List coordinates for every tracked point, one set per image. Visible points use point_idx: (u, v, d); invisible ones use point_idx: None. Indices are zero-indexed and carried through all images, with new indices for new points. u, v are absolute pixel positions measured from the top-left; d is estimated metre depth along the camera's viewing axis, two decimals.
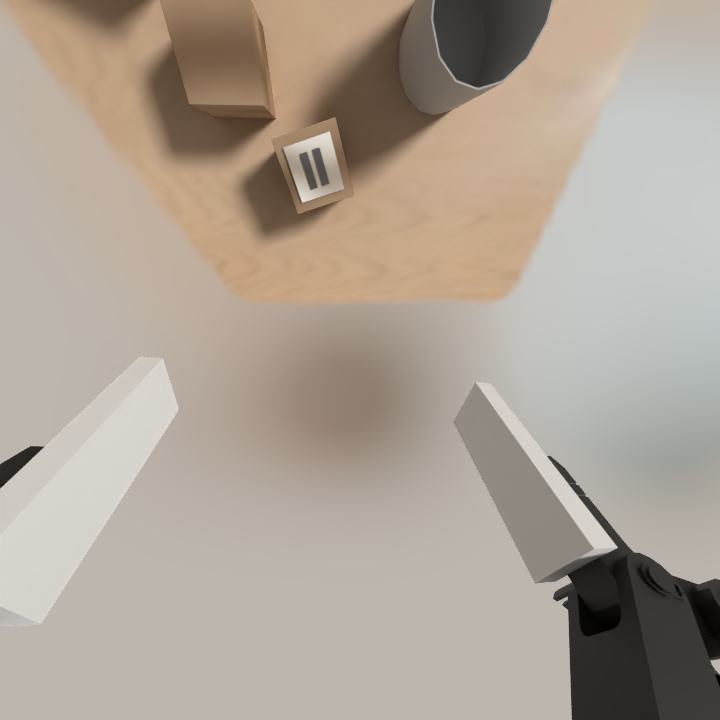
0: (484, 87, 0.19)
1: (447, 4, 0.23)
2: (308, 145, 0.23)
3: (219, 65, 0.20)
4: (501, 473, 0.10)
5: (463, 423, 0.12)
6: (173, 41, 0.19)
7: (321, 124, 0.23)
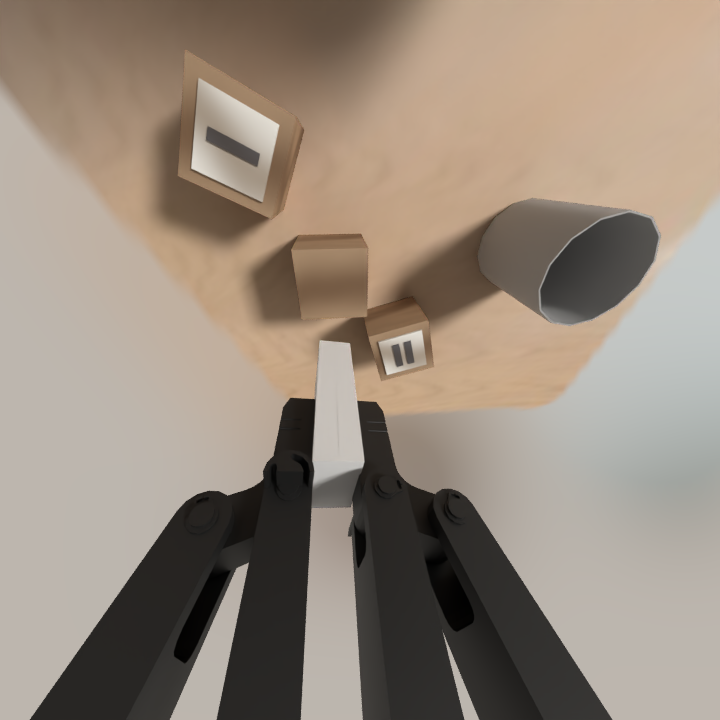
0: (575, 323, 0.21)
1: None
2: (401, 340, 0.25)
3: (334, 295, 0.22)
4: None
5: None
6: (297, 283, 0.21)
7: (415, 325, 0.25)
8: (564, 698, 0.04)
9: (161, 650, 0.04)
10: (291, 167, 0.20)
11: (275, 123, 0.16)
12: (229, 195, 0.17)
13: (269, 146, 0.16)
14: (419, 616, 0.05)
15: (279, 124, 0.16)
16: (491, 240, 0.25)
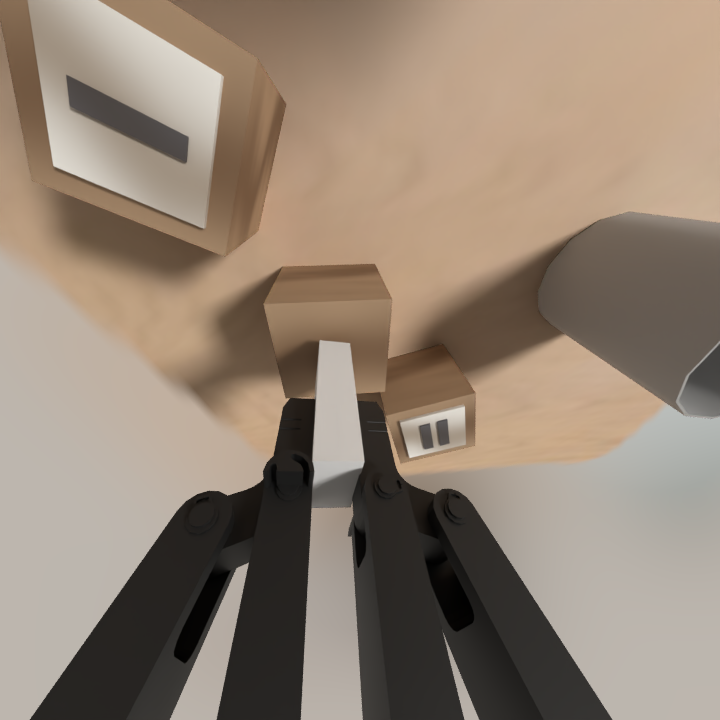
0: None
1: None
2: (433, 418, 0.17)
3: None
4: None
5: None
6: (277, 351, 0.13)
7: (455, 400, 0.17)
8: (564, 698, 0.04)
9: (161, 650, 0.04)
10: (264, 165, 0.12)
11: (215, 72, 0.07)
12: (141, 216, 0.09)
13: (205, 122, 0.08)
14: (419, 616, 0.05)
15: (222, 75, 0.07)
16: (568, 274, 0.17)
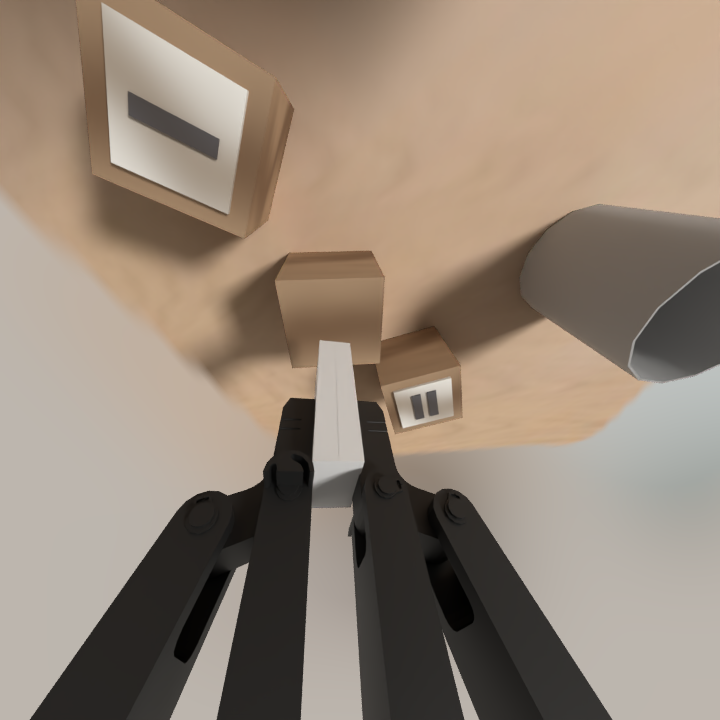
0: (670, 380, 0.15)
1: None
2: (423, 389, 0.19)
3: (336, 338, 0.16)
4: None
5: None
6: (285, 324, 0.15)
7: (442, 372, 0.19)
8: (564, 698, 0.04)
9: (161, 650, 0.04)
10: (275, 162, 0.14)
11: (243, 88, 0.10)
12: (177, 204, 0.11)
13: (233, 127, 0.10)
14: (419, 616, 0.05)
15: (247, 90, 0.10)
16: (544, 260, 0.19)
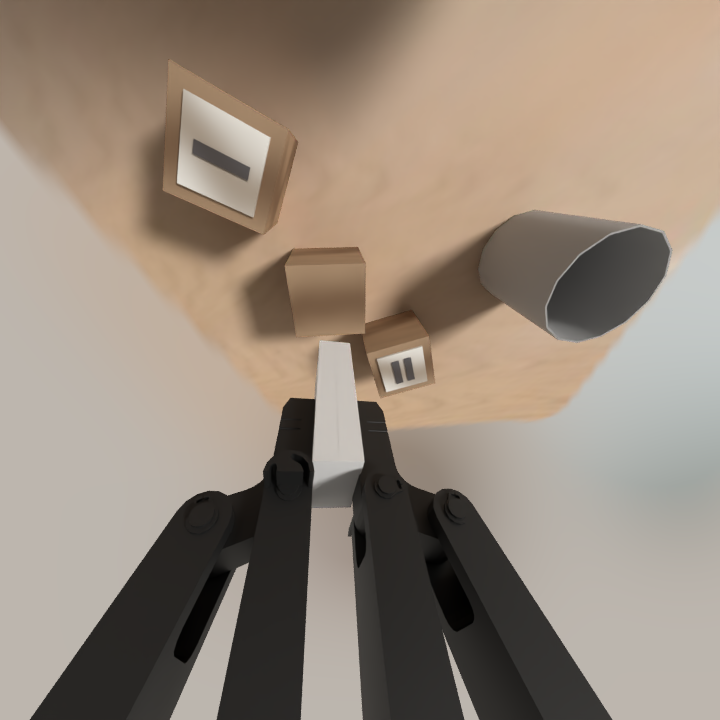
0: (583, 340, 0.21)
1: None
2: (401, 356, 0.24)
3: (330, 312, 0.21)
4: None
5: None
6: (291, 300, 0.20)
7: (415, 341, 0.24)
8: (564, 698, 0.04)
9: (161, 650, 0.04)
10: (284, 180, 0.19)
11: (266, 135, 0.15)
12: (218, 210, 0.16)
13: (259, 159, 0.15)
14: (419, 616, 0.05)
15: (270, 137, 0.15)
16: (493, 253, 0.24)
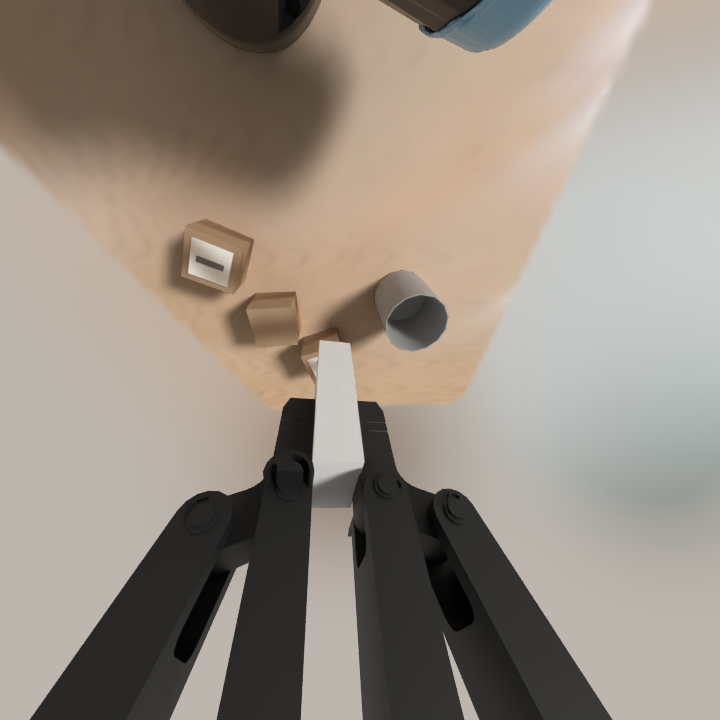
0: (416, 350, 0.36)
1: None
2: None
3: (274, 333, 0.37)
4: None
5: None
6: (251, 326, 0.36)
7: None
8: (564, 698, 0.04)
9: (161, 650, 0.04)
10: (246, 261, 0.35)
11: (231, 252, 0.30)
12: (208, 284, 0.32)
13: (228, 262, 0.31)
14: (419, 616, 0.05)
15: (233, 253, 0.30)
16: (377, 296, 0.39)
